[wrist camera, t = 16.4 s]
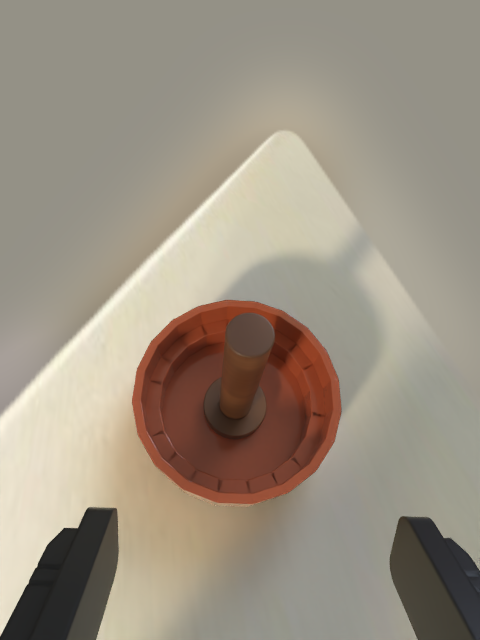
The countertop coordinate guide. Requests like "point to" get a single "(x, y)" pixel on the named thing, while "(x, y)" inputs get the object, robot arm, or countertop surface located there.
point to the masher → (240, 378)
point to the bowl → (276, 428)
